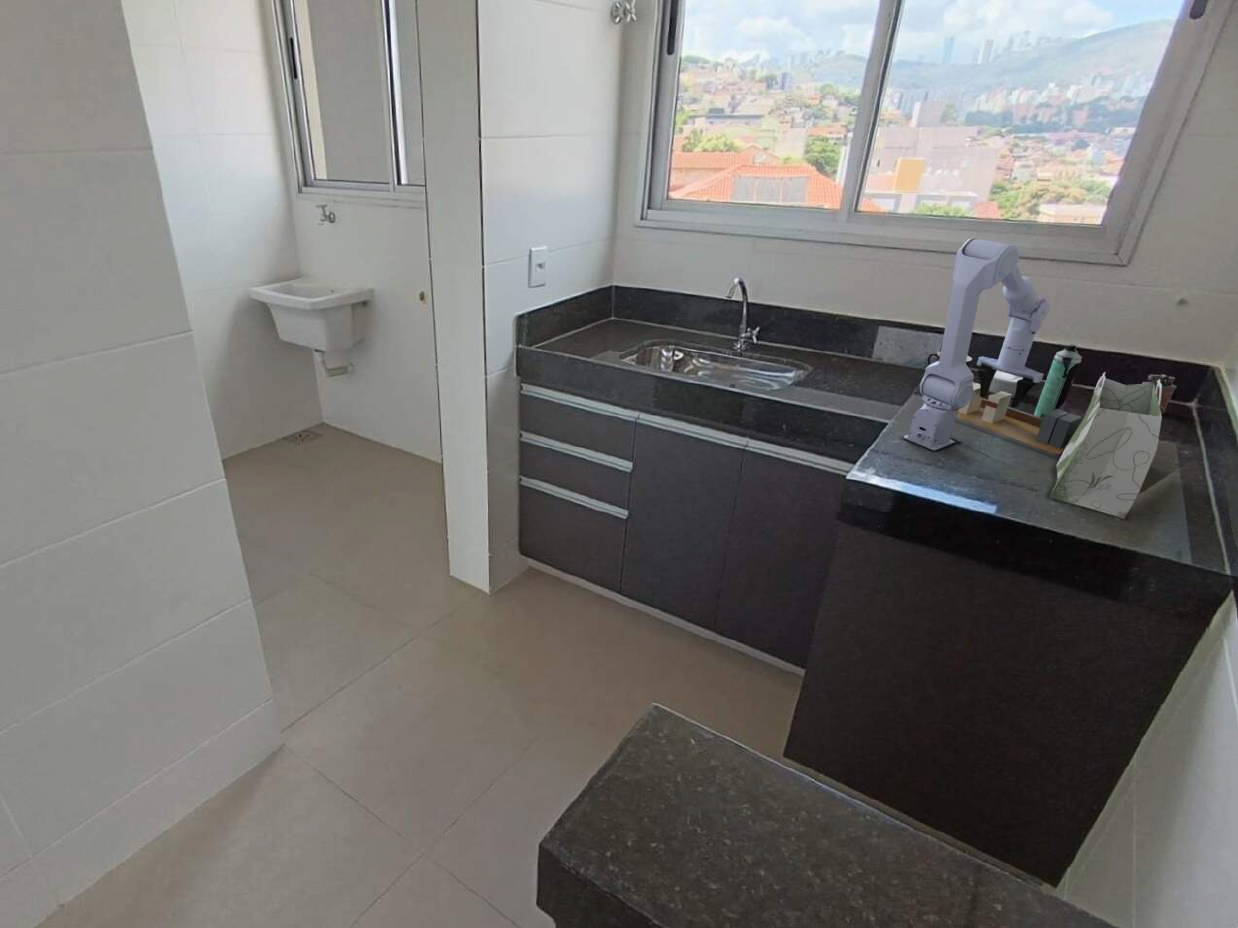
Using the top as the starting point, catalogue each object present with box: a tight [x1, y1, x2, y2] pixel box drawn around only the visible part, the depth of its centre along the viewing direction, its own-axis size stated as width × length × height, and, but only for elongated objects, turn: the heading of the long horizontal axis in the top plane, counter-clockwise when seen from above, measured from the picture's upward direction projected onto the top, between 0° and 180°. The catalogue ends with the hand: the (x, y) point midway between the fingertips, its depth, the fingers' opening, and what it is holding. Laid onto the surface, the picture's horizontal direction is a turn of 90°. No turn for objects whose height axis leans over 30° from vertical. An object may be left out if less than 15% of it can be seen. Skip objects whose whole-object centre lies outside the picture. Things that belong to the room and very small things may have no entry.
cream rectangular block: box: [958, 382, 982, 415], centre depth 169 cm, size 6×3×6 cm, turn 126°
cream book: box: [982, 391, 1012, 424], centre depth 165 cm, size 6×3×6 cm, turn 126°
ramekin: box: [989, 370, 1023, 399], centre depth 186 cm, size 11×11×5 cm
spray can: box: [1033, 344, 1083, 418], centre depth 165 cm, size 6×6×20 cm
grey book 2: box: [1049, 412, 1083, 448], centre depth 154 cm, size 6×3×6 cm, turn 126°
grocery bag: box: [1048, 371, 1163, 520], centre depth 137 cm, size 32×14×23 cm, turn 144°
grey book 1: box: [1036, 409, 1069, 444], centre depth 156 cm, size 6×3×6 cm, turn 126°
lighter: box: [1141, 374, 1177, 415], centre depth 178 cm, size 8×3×10 cm, turn 84°
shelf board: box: [956, 397, 1066, 456], centre depth 164 cm, size 14×31×3 cm, turn 36°
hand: (998, 401), depth 164 cm, fingers open, 7 cm apart
